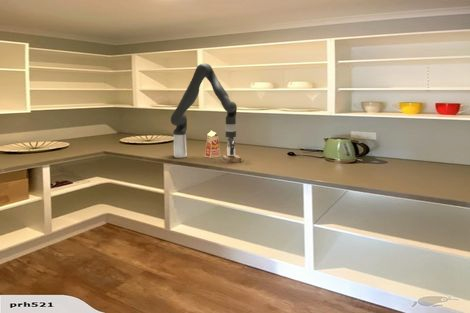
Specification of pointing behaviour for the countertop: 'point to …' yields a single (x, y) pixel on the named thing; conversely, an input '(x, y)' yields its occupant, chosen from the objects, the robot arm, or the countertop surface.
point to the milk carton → (212, 145)
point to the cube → (229, 151)
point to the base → (230, 158)
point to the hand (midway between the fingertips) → (231, 153)
